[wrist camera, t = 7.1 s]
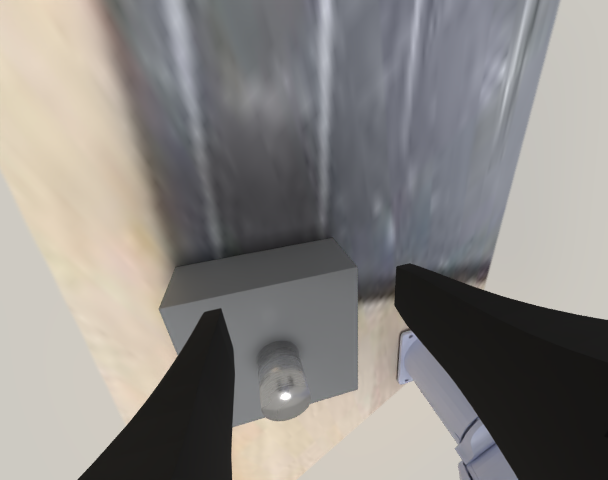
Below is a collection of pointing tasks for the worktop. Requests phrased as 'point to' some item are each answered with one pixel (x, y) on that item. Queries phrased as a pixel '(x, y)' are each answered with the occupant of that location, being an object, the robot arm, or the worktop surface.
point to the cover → (276, 323)
